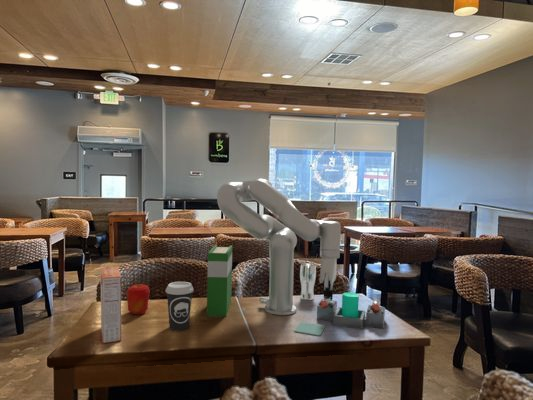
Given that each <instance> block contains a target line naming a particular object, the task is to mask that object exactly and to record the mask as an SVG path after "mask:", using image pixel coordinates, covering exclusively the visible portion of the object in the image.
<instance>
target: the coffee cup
mask: <svg viewBox="0 0 533 400" xmlns="http://www.w3.org/2000/svg"><path fill="white" fill-rule="evenodd" d="M194 291H195V289H194V287H193V285H192V283H191V282H187V281H174V282H173V281H172V282H170V283H169V284H167V287H166V288H165V291H164V292H165V293H166V299H167V309H168V310H167V311H168V323H169V324H168V326H169V329H170V331H176V332H181V331H185V330H187V329H189V327H190V319H191V318H190V317H191V309H192V299H193V292H194Z"/></svg>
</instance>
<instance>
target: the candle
mask: <svg viewBox="0 0 533 400" xmlns="http://www.w3.org/2000/svg"><path fill="white" fill-rule="evenodd" d="M341 294H342V297H341V307H342V316H347V317H354V318H358V310H359V300H360V299H359V294H357V293H355V292H352V291H350V292H344V293H341Z"/></svg>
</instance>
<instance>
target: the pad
mask: <svg viewBox="0 0 533 400" xmlns="http://www.w3.org/2000/svg"><path fill="white" fill-rule="evenodd" d="M325 328H326V325H324V324H323V325H322V324H317V323H311V322H310V323H309V322H304V321H300V323H299V324H298V325H297V327H296V328H295V329H294V330H293V332H294V333H298V334H305V335H311V336H316V337H321V334H323V331H324V329H325Z"/></svg>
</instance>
